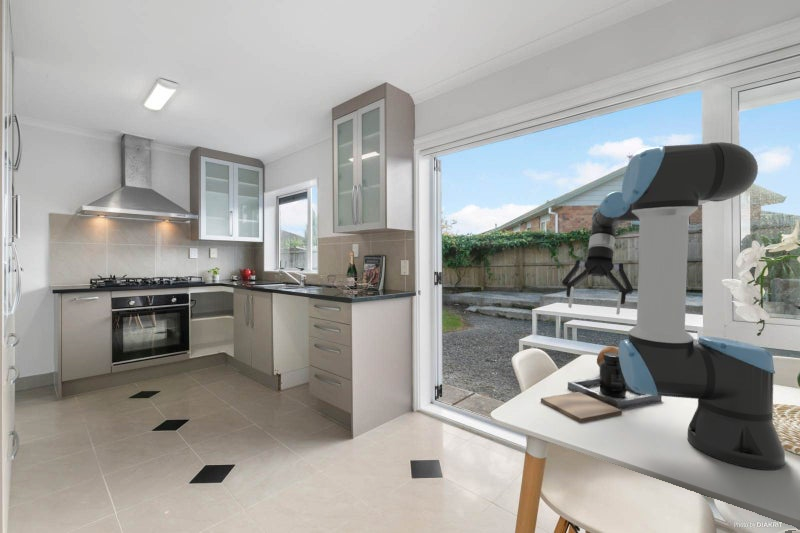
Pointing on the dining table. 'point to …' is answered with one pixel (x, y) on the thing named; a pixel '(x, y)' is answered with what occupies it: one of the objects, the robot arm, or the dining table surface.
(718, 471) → the dining table surface
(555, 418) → the dining table surface
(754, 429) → the robot arm
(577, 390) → the metal rim
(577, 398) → the walnut board
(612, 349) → the onion
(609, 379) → the supplement bottle
